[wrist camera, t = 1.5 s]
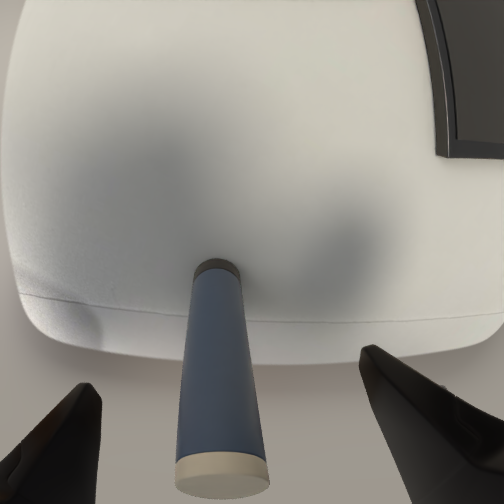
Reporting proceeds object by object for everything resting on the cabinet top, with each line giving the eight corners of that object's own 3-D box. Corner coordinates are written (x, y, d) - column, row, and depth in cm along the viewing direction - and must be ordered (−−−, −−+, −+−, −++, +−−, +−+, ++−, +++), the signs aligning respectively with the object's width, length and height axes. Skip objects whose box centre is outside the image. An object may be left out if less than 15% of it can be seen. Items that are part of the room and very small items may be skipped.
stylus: (249, 273, 14) (289, 480, 5) (222, 304, 15) (234, 503, 6) (210, 249, 13) (205, 466, 4) (185, 283, 14) (159, 489, 5)
